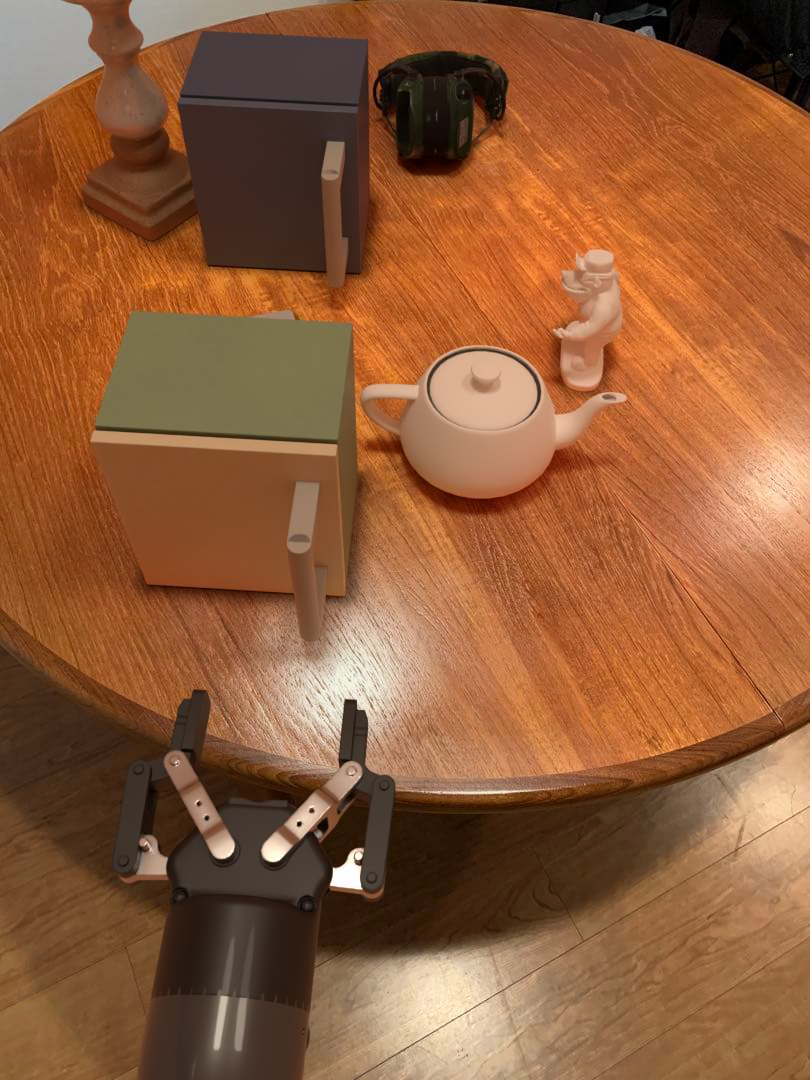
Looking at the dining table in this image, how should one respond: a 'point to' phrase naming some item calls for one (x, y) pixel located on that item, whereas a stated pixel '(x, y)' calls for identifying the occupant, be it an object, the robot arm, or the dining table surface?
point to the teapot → (481, 421)
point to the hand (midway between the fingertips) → (276, 699)
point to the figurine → (589, 318)
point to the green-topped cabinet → (239, 385)
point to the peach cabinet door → (231, 514)
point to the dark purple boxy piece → (287, 79)
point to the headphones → (439, 100)
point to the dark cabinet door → (276, 184)
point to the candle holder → (133, 133)
